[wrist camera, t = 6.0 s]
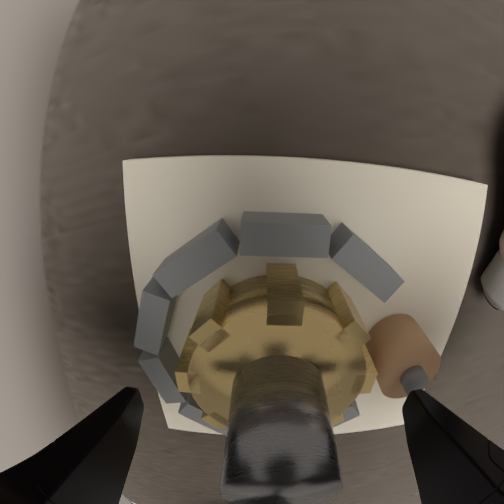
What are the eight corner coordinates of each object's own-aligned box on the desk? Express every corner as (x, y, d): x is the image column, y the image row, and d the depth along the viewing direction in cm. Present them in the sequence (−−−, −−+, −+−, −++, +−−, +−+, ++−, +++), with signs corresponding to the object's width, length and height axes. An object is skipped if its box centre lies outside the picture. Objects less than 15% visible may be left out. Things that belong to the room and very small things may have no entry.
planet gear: (340, 394, 13) (367, 514, 6) (198, 392, 13) (171, 515, 7) (372, 265, 10) (467, 396, 4) (184, 260, 10) (101, 402, 4)
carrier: (400, 412, 15) (419, 461, 11) (172, 415, 15) (156, 469, 11) (474, 181, 10) (537, 201, 6) (133, 158, 10) (74, 169, 6)
